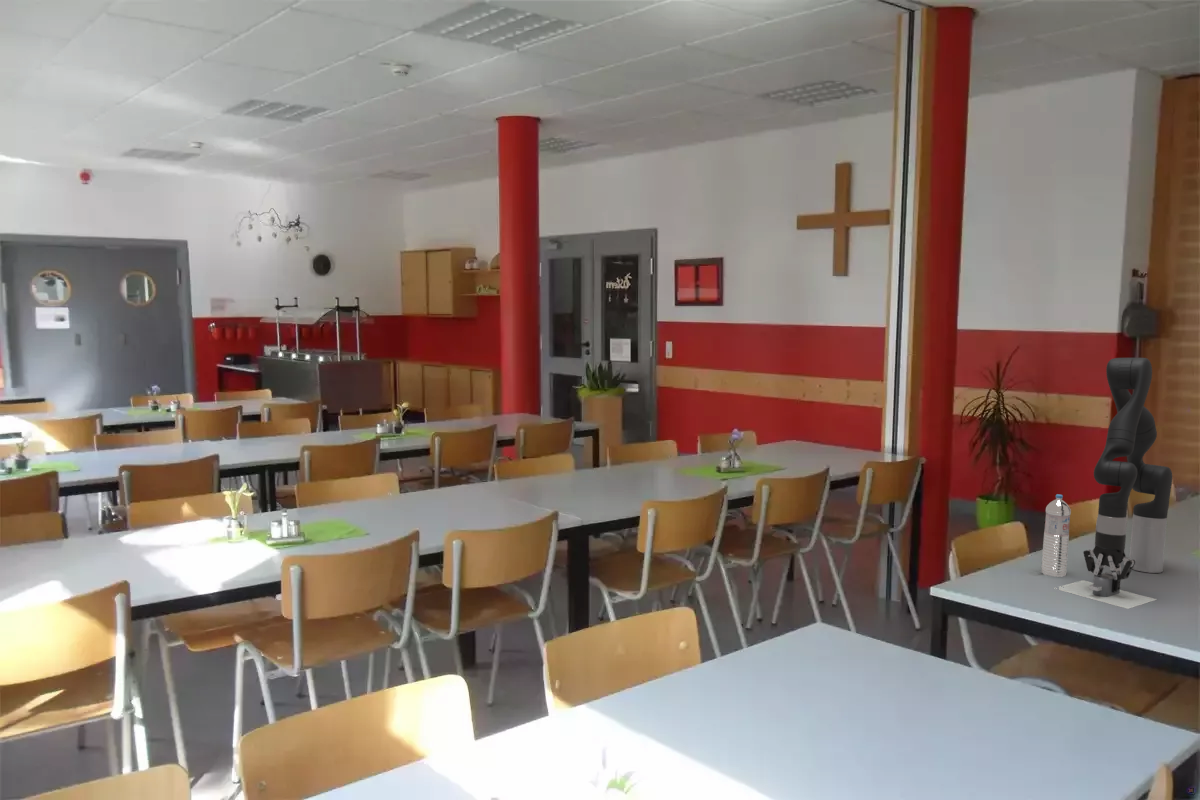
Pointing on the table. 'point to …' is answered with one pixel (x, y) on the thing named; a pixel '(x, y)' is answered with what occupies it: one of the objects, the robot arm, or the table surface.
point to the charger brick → (1103, 585)
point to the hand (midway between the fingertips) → (1106, 589)
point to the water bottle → (1056, 538)
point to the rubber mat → (1121, 599)
